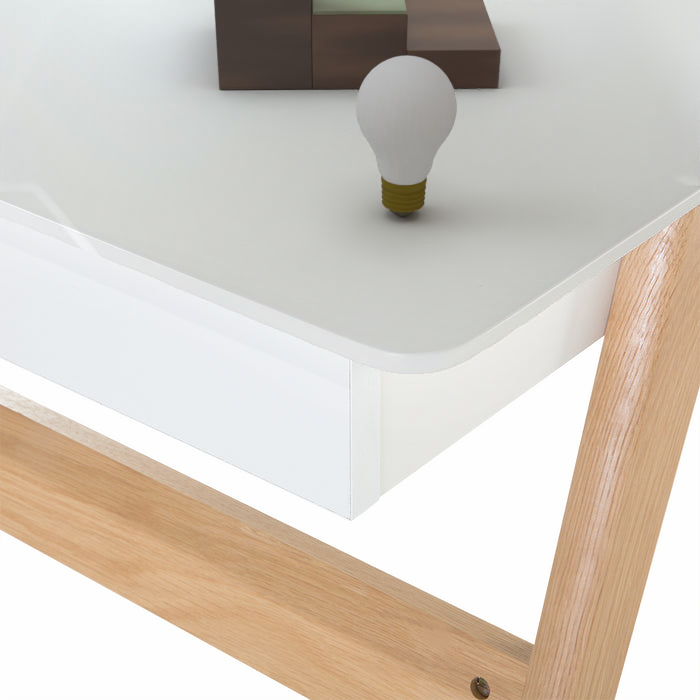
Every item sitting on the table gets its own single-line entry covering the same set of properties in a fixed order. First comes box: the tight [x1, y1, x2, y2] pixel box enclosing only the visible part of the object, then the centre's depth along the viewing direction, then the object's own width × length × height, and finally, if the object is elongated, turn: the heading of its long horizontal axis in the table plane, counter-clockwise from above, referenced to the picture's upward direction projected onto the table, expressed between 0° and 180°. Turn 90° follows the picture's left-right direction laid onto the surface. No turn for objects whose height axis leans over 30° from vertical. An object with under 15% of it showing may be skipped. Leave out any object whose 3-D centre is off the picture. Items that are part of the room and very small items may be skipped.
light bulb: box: [355, 56, 458, 218], centre depth 73 cm, size 6×6×10 cm
